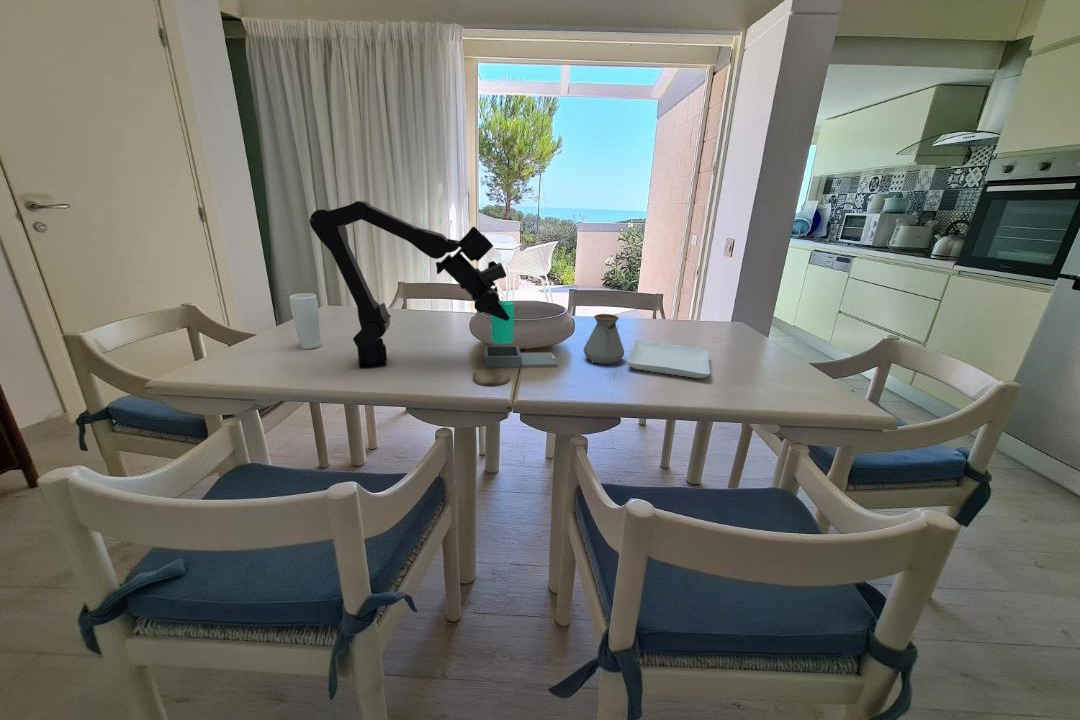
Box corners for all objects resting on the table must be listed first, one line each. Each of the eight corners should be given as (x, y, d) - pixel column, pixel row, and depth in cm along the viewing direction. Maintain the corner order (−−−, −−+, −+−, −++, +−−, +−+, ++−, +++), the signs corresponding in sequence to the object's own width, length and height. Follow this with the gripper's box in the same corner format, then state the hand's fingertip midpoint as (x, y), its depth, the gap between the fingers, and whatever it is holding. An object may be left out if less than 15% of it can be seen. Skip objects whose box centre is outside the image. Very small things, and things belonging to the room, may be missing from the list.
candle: (512, 344, 114) (513, 299, 110) (489, 343, 114) (489, 298, 110) (514, 337, 119) (514, 295, 115) (492, 336, 120) (492, 294, 115)
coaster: (479, 388, 101) (479, 383, 101) (468, 375, 109) (468, 370, 108) (514, 383, 105) (514, 378, 104) (502, 370, 112) (502, 366, 112)
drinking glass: (300, 344, 127) (291, 293, 122) (325, 342, 129) (318, 292, 124) (295, 351, 121) (286, 298, 116) (321, 349, 123) (314, 297, 117)
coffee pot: (581, 352, 128) (585, 303, 123) (620, 354, 128) (625, 305, 123) (585, 380, 108) (590, 322, 103) (631, 382, 108) (638, 324, 103)
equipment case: (485, 367, 114) (485, 357, 113) (484, 355, 123) (484, 345, 122) (557, 366, 116) (557, 356, 115) (551, 355, 125) (552, 345, 124)
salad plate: (709, 385, 109) (711, 373, 107) (624, 373, 115) (626, 360, 114) (707, 359, 128) (708, 348, 126) (634, 350, 134) (636, 339, 133)
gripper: (488, 256, 100) (534, 303, 105) (486, 248, 117) (525, 289, 122) (454, 289, 101) (501, 334, 106) (458, 276, 118) (497, 316, 124)
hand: (507, 316), depth 115 cm, fingers closed on candle, 5 cm apart
